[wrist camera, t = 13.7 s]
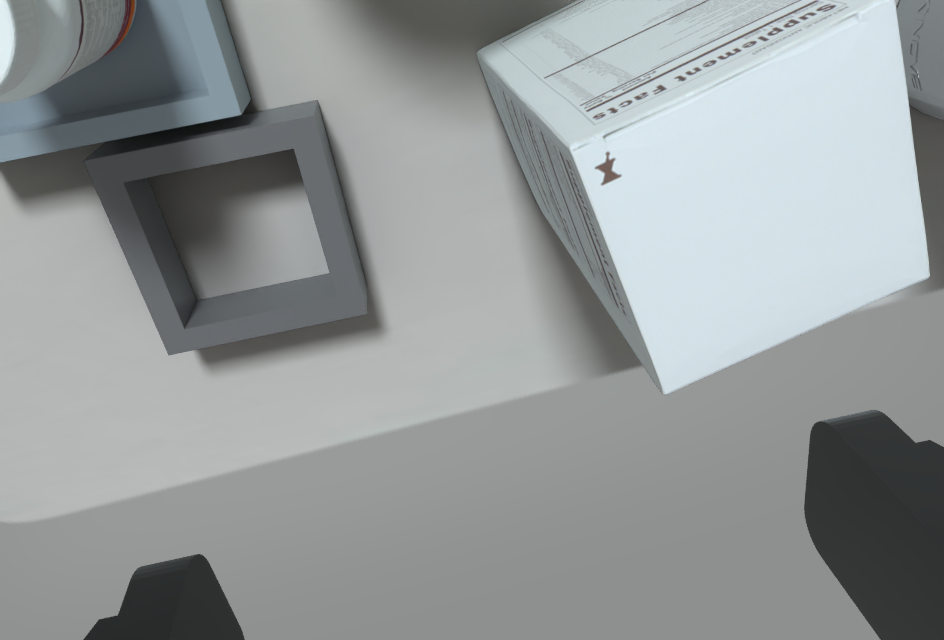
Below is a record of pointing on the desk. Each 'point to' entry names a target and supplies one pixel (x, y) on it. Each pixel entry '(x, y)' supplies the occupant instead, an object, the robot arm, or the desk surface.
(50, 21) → the pill bottle
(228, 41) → the parts tray
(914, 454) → the robot arm
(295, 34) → the desk surface
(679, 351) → the supplement box
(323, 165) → the gray hollow square frame
